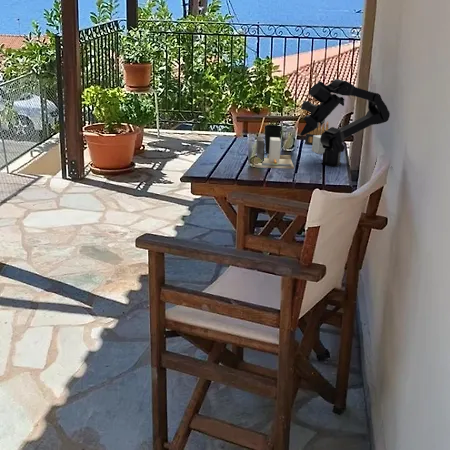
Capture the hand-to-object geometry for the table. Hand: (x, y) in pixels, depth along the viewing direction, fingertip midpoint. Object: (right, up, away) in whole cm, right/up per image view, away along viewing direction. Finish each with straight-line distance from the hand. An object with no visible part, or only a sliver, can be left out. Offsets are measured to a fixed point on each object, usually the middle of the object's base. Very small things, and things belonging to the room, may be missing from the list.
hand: (301, 135), depth 269 cm
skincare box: (+12, -5, +23) cm, 27 cm away
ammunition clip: (+11, 0, +37) cm, 38 cm away
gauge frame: (-12, -12, -1) cm, 17 cm away
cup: (-11, -6, +18) cm, 22 cm away
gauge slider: (-11, -11, -1) cm, 16 cm away
